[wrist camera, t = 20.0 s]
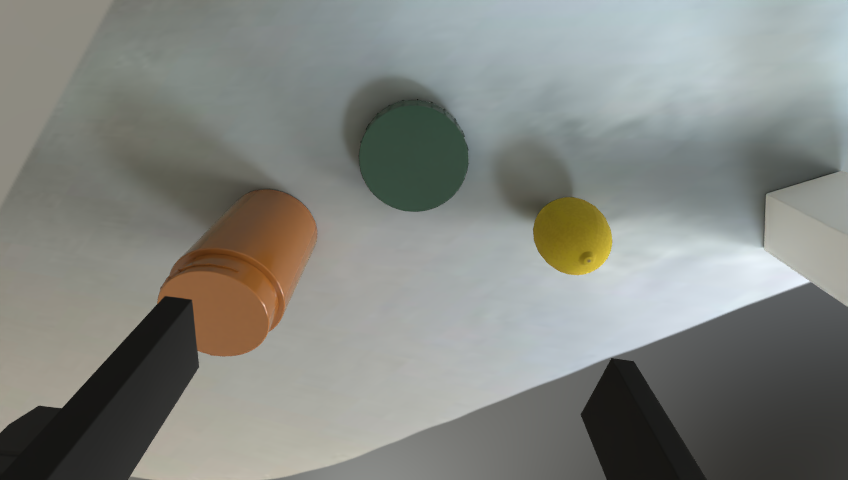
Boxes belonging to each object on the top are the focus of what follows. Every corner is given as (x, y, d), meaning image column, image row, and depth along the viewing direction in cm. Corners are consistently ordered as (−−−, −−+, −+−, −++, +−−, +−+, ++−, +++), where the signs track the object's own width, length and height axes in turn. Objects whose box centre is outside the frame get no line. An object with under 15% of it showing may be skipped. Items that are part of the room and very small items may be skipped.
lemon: (600, 198, 35) (646, 244, 28) (564, 249, 37) (597, 303, 30) (546, 172, 34) (579, 213, 27) (511, 227, 36) (534, 277, 29)
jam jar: (228, 181, 34) (141, 255, 24) (320, 197, 35) (276, 275, 24) (231, 258, 38) (157, 353, 27) (314, 271, 38) (274, 367, 28)
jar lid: (452, 209, 35) (454, 220, 33) (355, 191, 35) (351, 201, 33) (478, 111, 32) (482, 118, 30) (369, 88, 31) (366, 93, 29)
